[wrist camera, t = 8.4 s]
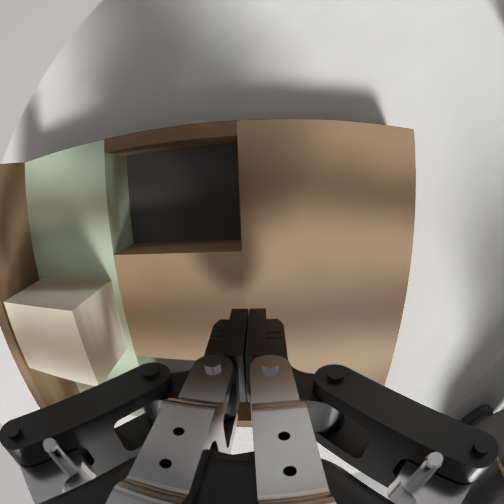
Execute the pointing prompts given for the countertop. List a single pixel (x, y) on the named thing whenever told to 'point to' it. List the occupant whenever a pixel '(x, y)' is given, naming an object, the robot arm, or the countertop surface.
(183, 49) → the countertop surface
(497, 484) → the pitcher
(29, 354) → the block
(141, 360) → the wooden compartment tray
